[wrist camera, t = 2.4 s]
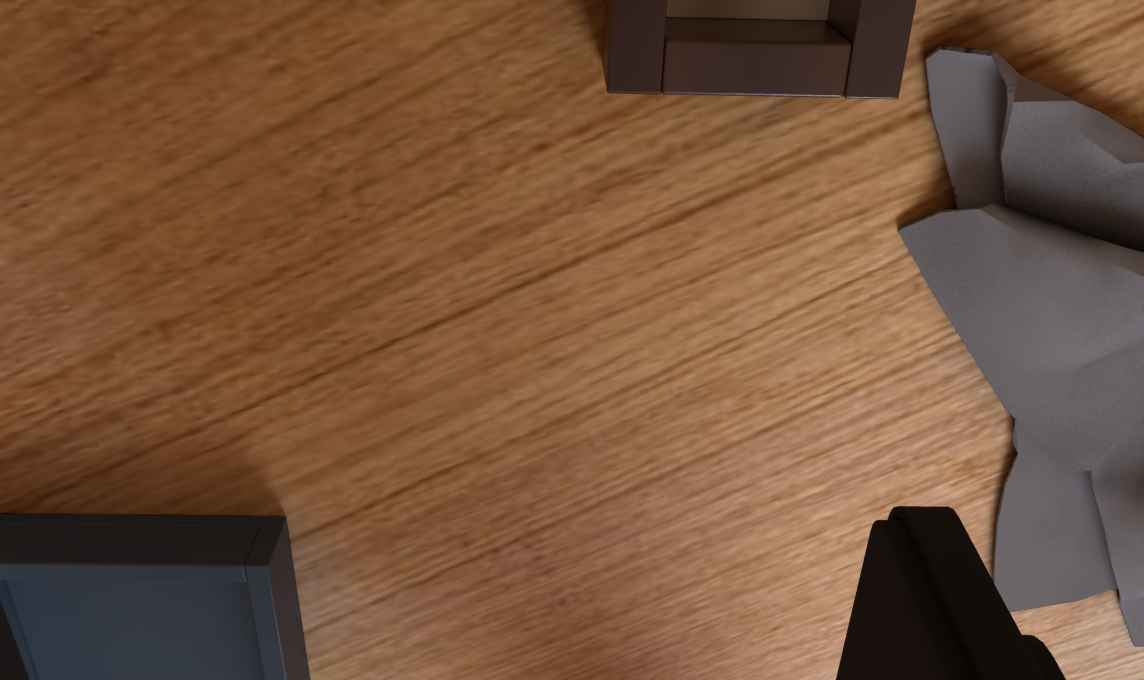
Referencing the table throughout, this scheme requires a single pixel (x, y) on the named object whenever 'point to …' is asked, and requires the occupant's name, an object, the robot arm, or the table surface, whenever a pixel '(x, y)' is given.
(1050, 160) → the cloth
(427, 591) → the table surface
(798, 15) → the frame
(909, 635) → the robot arm
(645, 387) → the table surface
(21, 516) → the tray
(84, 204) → the table surface
